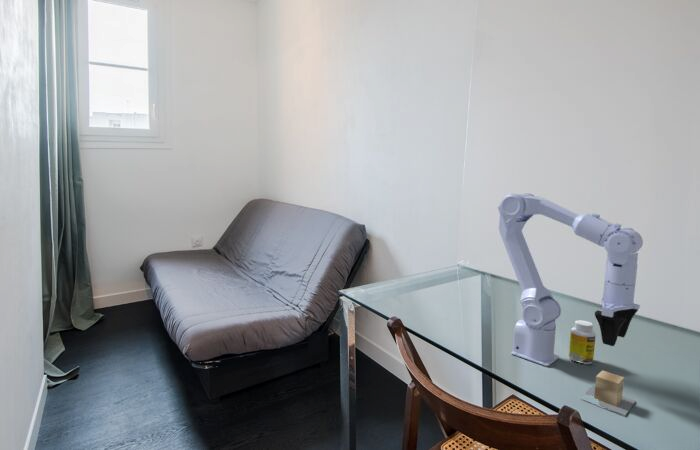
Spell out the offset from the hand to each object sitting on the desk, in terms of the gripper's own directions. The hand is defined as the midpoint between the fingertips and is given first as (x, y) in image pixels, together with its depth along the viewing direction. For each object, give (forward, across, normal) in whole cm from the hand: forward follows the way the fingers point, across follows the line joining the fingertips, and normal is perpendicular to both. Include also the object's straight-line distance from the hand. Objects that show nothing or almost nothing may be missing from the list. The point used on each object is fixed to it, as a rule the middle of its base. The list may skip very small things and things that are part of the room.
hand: (613, 340), depth 88 cm
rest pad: (+10, -9, -2) cm, 14 cm away
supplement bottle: (+11, +8, +9) cm, 16 cm away
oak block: (+10, -9, -2) cm, 14 cm away
